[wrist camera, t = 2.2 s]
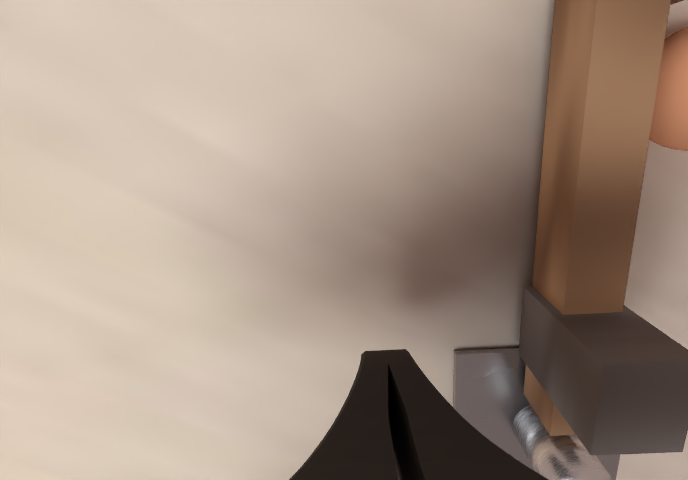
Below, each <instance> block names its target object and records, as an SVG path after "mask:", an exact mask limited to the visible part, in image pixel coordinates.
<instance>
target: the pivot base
mask: <svg viewBox="0 0 688 480" xmlns="http://www.w3.org/2000/svg"><path fill="white" fill-rule="evenodd" d="M525 369H526V364H525V362H524V361H523V359H522V358H521V357H520V355H519V347H517V348H496V349H476V350H455V351H454V385H453V408H454V409H455V410H456V411H457V412H458V413H459V414H460V415H461V416H462V417H463V418H464V419H465V420H466V421H468V422H469V423H470V424H471V425H472V426H473V427H474V428H475V429H477V430H478V431H479V432H480V433H481V434H482V435H484V436H485V437H486V438H487V439H489V440H490V441H491V442H493V443H494V444H495V445H497V446H498V447H500V448H501V449H502V450H504V451H505V452H507V453H508V454H509V455H511V456H512V457H513V458H515V459H517V460H518V461H520V462H521V463H523V464H524V465H526V466H527V467H529V468H530V469H532V470H534V471H535V472H537V473H539V474H540V475H542V476H544V477H545V478H547V479H549V480H616V475H617V469H618V463H619V457H620V454H616V455H590V454H589V452H588V451H587V449H586V448H585V447H584V445H583V444H582V442H581V441H580V440H579V438H578V437H577V435H557V436H550V435H549V433H548V432H547V430H546V428H545V427H544V425H543V424H542V422H541V420H540V419H539V417H538V416H537V414H536V412H535V411H534V409H533V408H532V406H531V405H530V403H529V401H528V400H527V398H526V397H525V395H524V382H525Z"/></svg>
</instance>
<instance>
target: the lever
mask: <svg viewBox="0 0 688 480" xmlns="http://www.w3.org/2000/svg"><path fill="white" fill-rule="evenodd" d="M680 1H683V0H555V6H554V19H553V31H552V44H551V57H550V69H549V82H548V94H547V107H546V119H545V132H544V144H543V157H542V169H541V182H540V194H539V207H538V219H537V232H536V244H535V257H534V269H533V282H532V286H525V287H524V290H523V303H522V317H521V331H520V344H519V355H520V357H521V358H522V359H523V361H524V362H525V364H526V369H525V382H524V395H525V397H526V398H527V400H528V401H529V403H530V405H531V406H532V408H533V409H534V411H535V412H536V414H537V416H538V417H539V419H540V420H541V422H542V424H543V425H544V427H545V428H546V430H547V432H548V433H549V435H550V436H557V435H577V437H578V438H579V440H580V441H581V442H582V444H583V445H584V447H585V448H586V449H587V451H588V452H589V454H590V455H616V454H640V453H665V452H683V448H684V443H685V439H686V435H687V430H688V350H687V349H686V348H684V347H683V346H682V345H680V344H679V343H677V342H676V341H674V340H673V339H671V338H670V337H669V336H667V335H666V334H664V333H663V332H661V331H660V330H658V329H657V328H656V327H654V326H653V325H651V324H650V323H648V322H647V321H645V320H644V319H643V318H641V317H640V316H638V315H637V314H635V313H634V312H632V311H631V310H630V309H628V308H627V307H625V306H624V299H625V292H626V286H627V279H628V273H629V266H630V260H631V253H632V247H633V241H634V234H635V228H636V221H637V215H638V208H639V202H640V195H641V189H642V182H643V176H644V169H645V163H646V156H647V150H648V144H649V137H650V131H651V124H652V118H653V111H654V105H655V98H656V92H657V85H658V79H659V72H660V66H661V60H662V53H663V47H664V40H665V34H666V27H667V21H668V14H669V8H670V5H671V4H674V3H677V2H680Z"/></svg>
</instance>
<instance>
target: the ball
mask: <svg viewBox="0 0 688 480" xmlns="http://www.w3.org/2000/svg"><path fill="white" fill-rule="evenodd" d="M649 139H650V140H651V141H653V142H655V143H657V144H659V145H662V146H664V147H667V148H671V149H676V150H683V151H688V27H686V28H684V29H682V30H680V31H678V32H676V33H675V34H673V35H671V36H669V37H668V38H667V39H665V40H664V47H663V53H662V60H661V66H660V72H659V79H658V85H657V92H656V98H655V105H654V111H653V118H652V124H651V131H650V137H649Z"/></svg>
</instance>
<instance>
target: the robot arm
mask: <svg viewBox="0 0 688 480" xmlns="http://www.w3.org/2000/svg"><path fill="white" fill-rule="evenodd" d="M397 471H398V472H397ZM398 476H399V477H398ZM289 480H549V479H547V478H545V477H544V476H542V475H540V474H539V473H537V472H535V471H534V470H532V469H530V468H529V467H527V466H526V465H524V464H523V463H521V462H520V461H518V460H517V459H515V458H513V457H512V456H511V455H509V454H508V453H507V452H505V451H504V450H502V449H501V448H500V447H498V446H497V445H495V444H494V443H493V442H491V441H490V440H489V439H487V438H486V437H485V436H484V435H482V434H481V433H480V432H479V431H478V430H477V429H475V428H474V427H473V426H472V425H471V424H470V423H469V422H468V421H466V420H465V419H464V418H463V417H462V416H461V415H460V414H459V413H458V412H457V411H456V410H455V409H454V408H453V407H452V406H451V405H450V404H449V403H448V402H447V400H446V399H445V398H444V397H443V396H442V395H441V394H440V393H439V392H438V390H437V389H436V388H435V387H434V386H433V384H432V383H431V382H430V381H429V380H428V378H427V377H426V376H425V375H424V373H423V372H422V371H421V369H420V368H419V367H418V365H417V364H416V362H415V361H414V359H413V358H412V356H411V355H410V353H409V352H408V351H407V350H406V349H402V350H381V351H365V352H364V353H363V354H362V355H361V362H360V366H359V370H358V373H357V375H356V378H355V381H354V383H353V386H352V388H351V390H350V393H349V395H348V397H347V399H346V401H345V403H344V405H343V407H342V409H341V411H340V413H339V414H338V416H337V418H336V420H335V421H334V423H333V425H332V426H331V428H330V429H329V431H328V432H327V434H326V435H325V437H324V438H323V440H322V441H321V442H320V444H319V445H318V446H317V448H316V449H315V450H314V452H313V453H312V454H311V456H310V457H309V458H308V459H307V461H306V462H305V463H304V464H303V465H302V467H301V468H300V469H299V470H298V471H297V472H296V473H295V474H294V475H293V476H292V477H291V478H290V479H289Z"/></svg>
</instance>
